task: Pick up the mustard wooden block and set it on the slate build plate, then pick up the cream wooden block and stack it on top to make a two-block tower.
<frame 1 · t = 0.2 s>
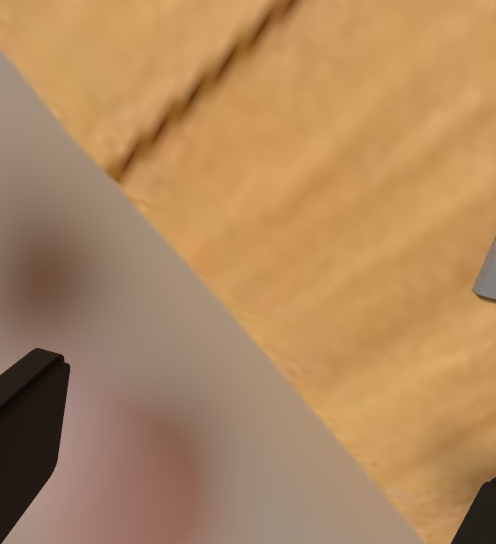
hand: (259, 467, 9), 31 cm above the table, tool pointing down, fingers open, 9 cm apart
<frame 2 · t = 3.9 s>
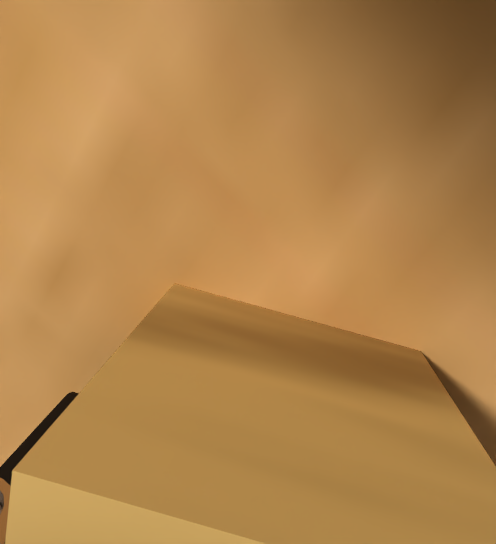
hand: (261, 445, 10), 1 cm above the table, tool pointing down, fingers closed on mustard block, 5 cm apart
mustard block: (264, 420, 11), on the table, touching gripper
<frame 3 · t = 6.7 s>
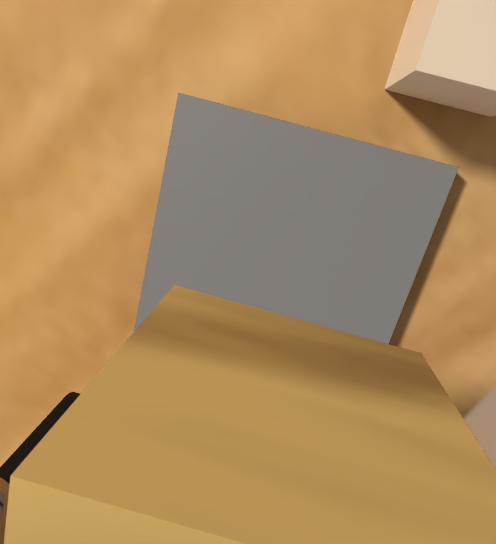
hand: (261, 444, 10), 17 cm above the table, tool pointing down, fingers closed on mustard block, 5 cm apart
cream block: (457, 44, 22), on the table
build plate: (279, 259, 26), on the table
mustard block: (263, 422, 11), point 16 cm above the table, touching gripper
when the fingers open (3 cm above the table, at t = 9.7 s): mustard block drops 1 cm, resting on build plate.
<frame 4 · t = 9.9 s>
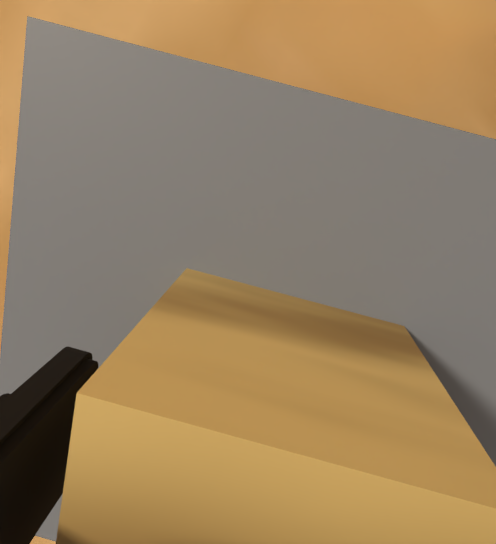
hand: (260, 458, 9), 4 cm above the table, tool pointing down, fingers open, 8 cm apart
build plate: (269, 370, 13), on the table
mustard block: (266, 391, 12), point 1 cm above the table, touching build plate
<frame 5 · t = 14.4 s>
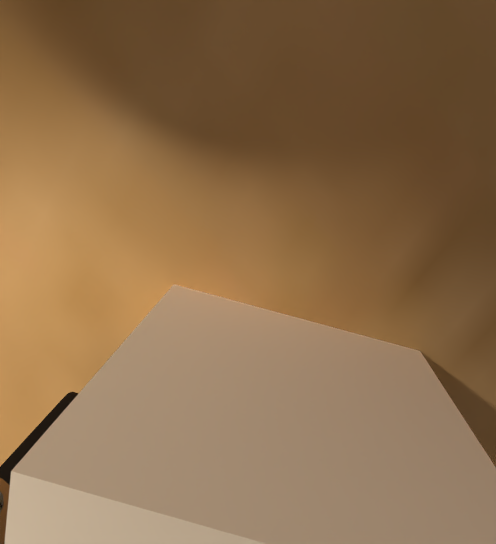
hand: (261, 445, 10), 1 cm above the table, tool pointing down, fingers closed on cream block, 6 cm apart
cream block: (263, 421, 11), on the table, touching gripper
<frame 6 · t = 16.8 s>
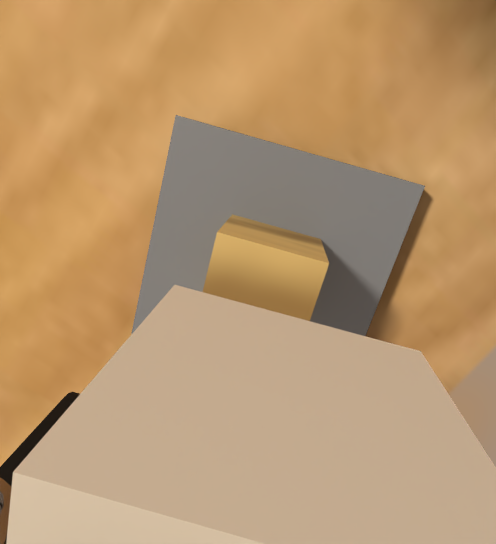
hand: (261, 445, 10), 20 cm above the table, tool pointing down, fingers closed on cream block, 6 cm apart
cream block: (264, 421, 11), point 19 cm above the table, touching gripper
build plate: (265, 264, 29), on the table
mustard block: (264, 268, 28), point 1 cm above the table, touching build plate
when the fingers open (9 cm above the table, at t = 19.4 s): cream block stays where it is, resting on mustard block.
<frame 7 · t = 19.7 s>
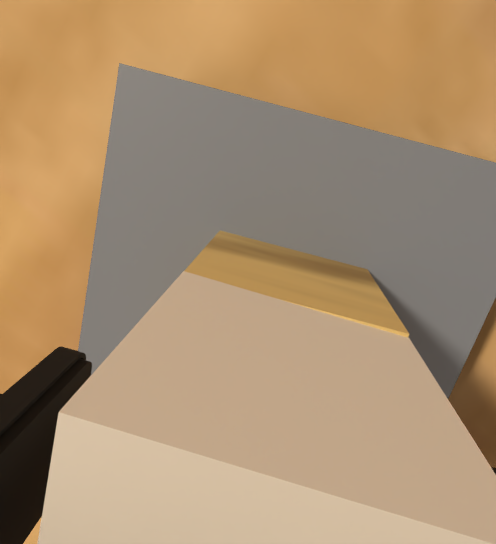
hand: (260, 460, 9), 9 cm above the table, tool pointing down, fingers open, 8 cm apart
cream block: (263, 400, 11), point 7 cm above the table, touching mustard block
build plate: (275, 307, 18), on the table
mustard block: (273, 317, 17), point 1 cm above the table, touching build plate, cream block
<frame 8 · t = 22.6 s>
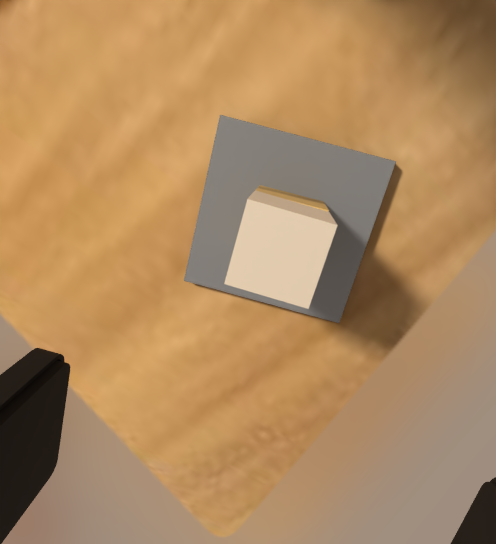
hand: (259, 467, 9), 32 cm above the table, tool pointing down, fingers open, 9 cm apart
cream block: (280, 237, 33), point 7 cm above the table, touching mustard block
build plate: (283, 222, 40), on the table
mustard block: (282, 224, 39), point 1 cm above the table, touching build plate, cream block
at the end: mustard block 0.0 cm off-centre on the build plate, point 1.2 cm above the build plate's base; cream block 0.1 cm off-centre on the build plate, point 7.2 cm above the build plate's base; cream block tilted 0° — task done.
